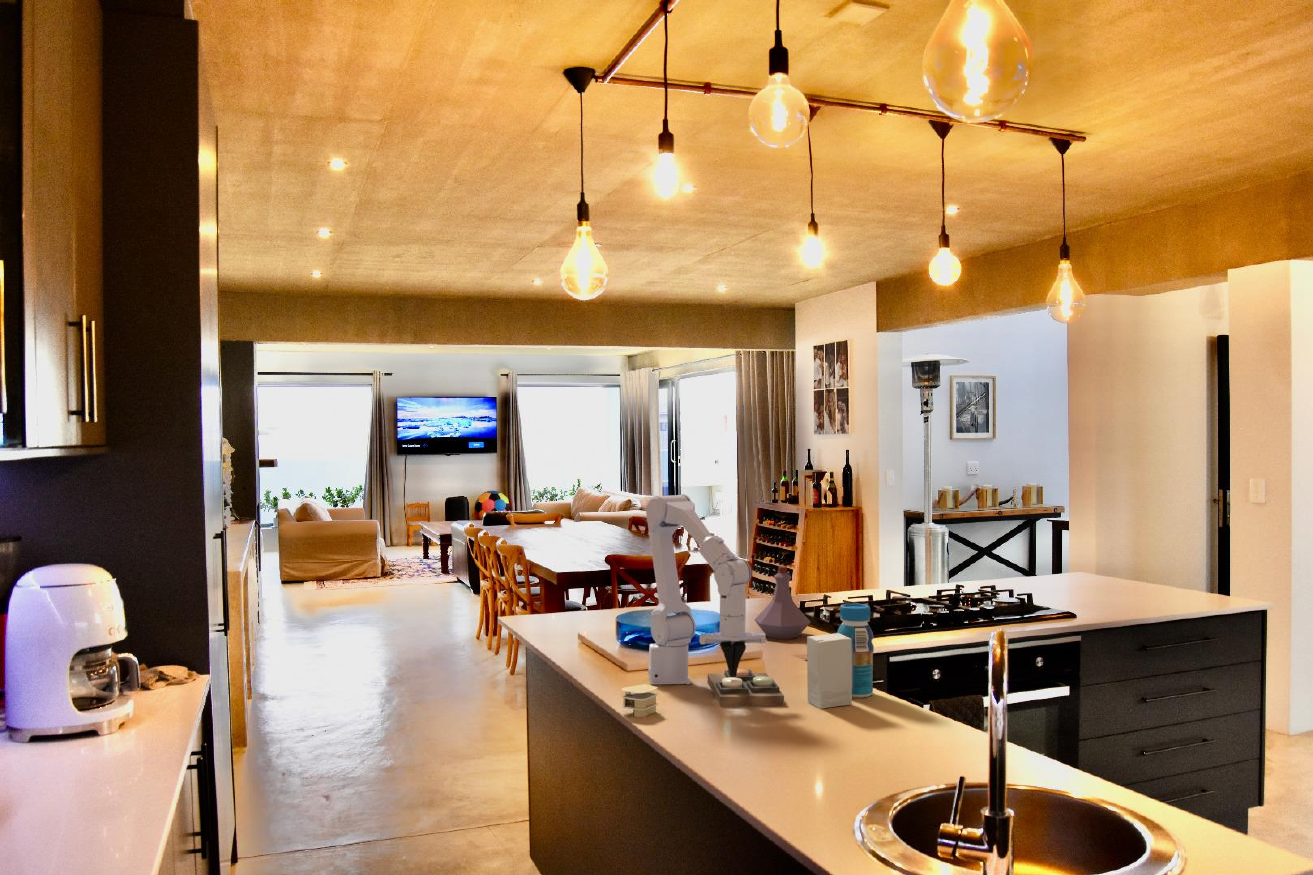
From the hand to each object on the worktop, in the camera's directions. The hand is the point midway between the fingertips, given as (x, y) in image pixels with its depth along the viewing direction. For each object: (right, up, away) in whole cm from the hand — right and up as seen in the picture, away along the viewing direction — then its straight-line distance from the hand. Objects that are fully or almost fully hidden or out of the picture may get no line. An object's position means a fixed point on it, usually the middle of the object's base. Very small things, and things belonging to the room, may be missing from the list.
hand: (732, 675), depth 218 cm
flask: (+20, -5, +67) cm, 71 cm away
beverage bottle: (+28, -6, +5) cm, 29 cm away
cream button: (0, -3, 0) cm, 3 cm away
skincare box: (+21, -6, -4) cm, 22 cm away
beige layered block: (-20, -6, -11) cm, 24 cm away
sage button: (+7, -3, +1) cm, 8 cm away
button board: (+3, -5, +5) cm, 8 cm away
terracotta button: (+3, -4, +11) cm, 12 cm away
